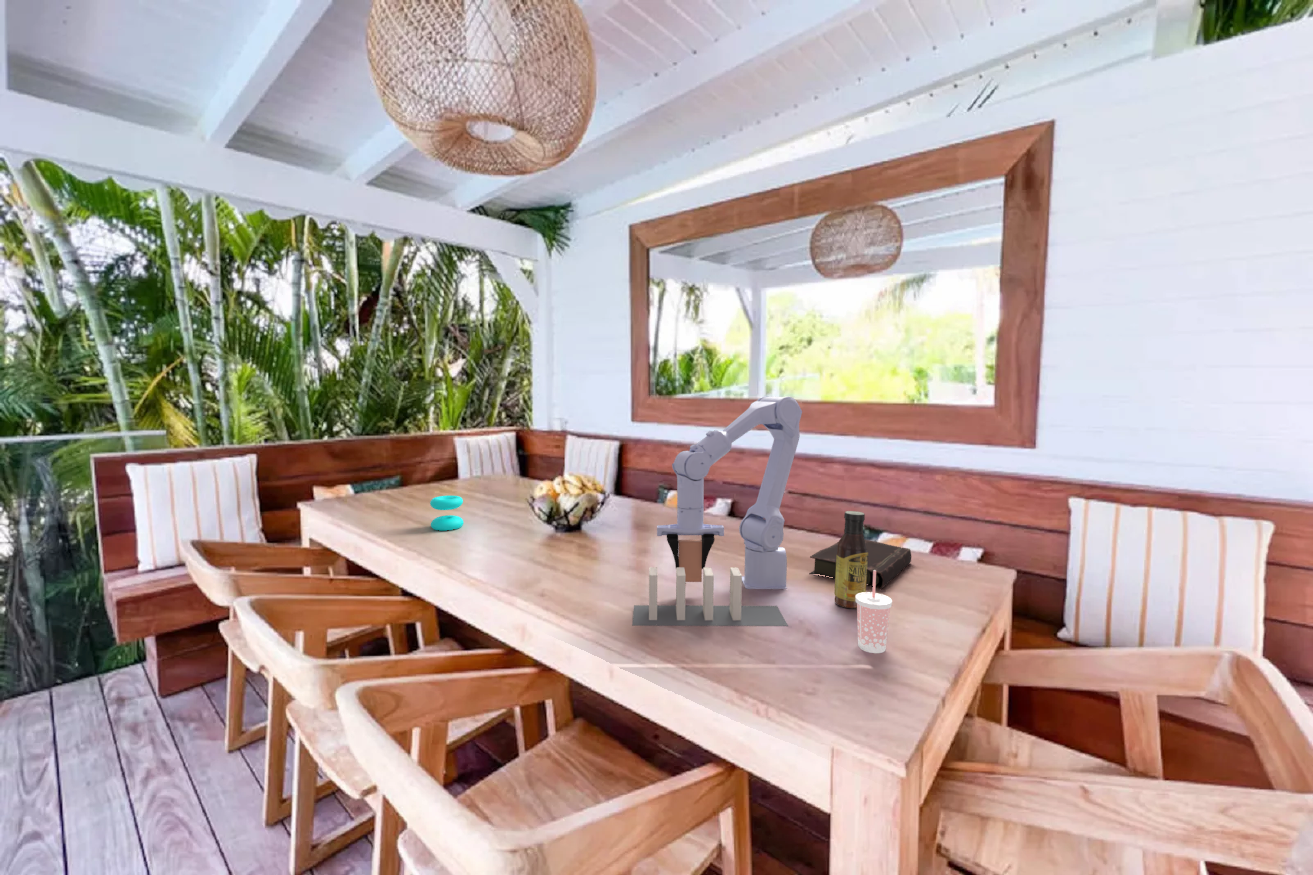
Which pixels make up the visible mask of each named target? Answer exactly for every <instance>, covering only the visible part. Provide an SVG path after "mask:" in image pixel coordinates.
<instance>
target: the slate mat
mask: <svg viewBox="0 0 1313 875" xmlns="http://www.w3.org/2000/svg"><path fill="white" fill-rule="evenodd" d="M631 625H632V626H635V627H636V626H640V627H641V626H645V627H647V626H653V627H654V626H656V627H657V626H660V627H662V626H665V627H666V626H667V627H669V626H671V627H673V626H674V627H684V626H685V627H686V626H687V627H689V626H690V627H693V626H694V627H698V626H699V627H789V624H788V623H787V620H786V619H785V618H784V615H783V614H782V612H781V610H780V608H779V606H778V605H741V620H733V619H732V616H731V613H730V605H713V620H705V618H704V614H703V605H694V604H693V605H687V604H685V620H677V616H676V604H675V605H671V604H670V605H665V604H663V605H662V604H661V605H658V604H657V620H649V604H648V605H647V604H646V605H643V604H640V605H639V604H638V605H637V604H636V605H635V604H634V605H633V611H632V624H631Z"/></svg>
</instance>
